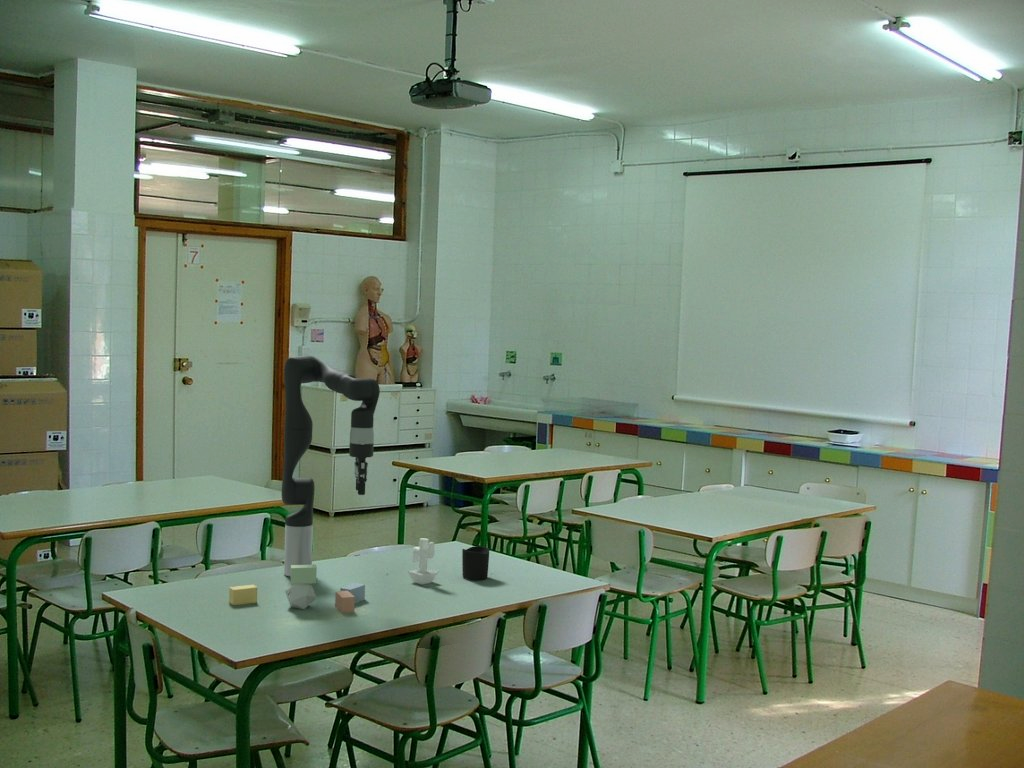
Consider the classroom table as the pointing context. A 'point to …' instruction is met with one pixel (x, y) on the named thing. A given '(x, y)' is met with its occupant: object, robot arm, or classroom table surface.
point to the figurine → (423, 562)
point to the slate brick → (355, 591)
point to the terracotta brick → (344, 601)
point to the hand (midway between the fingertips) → (360, 492)
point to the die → (300, 595)
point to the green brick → (303, 574)
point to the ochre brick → (243, 594)
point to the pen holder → (475, 563)
